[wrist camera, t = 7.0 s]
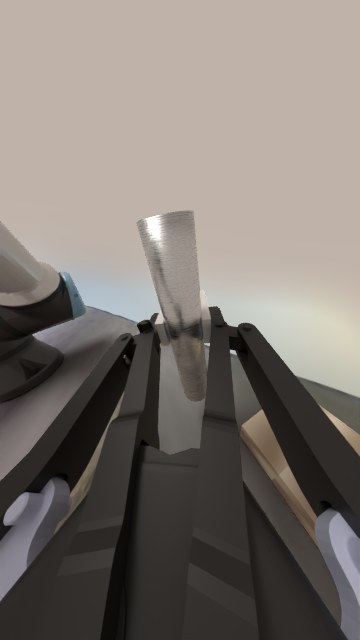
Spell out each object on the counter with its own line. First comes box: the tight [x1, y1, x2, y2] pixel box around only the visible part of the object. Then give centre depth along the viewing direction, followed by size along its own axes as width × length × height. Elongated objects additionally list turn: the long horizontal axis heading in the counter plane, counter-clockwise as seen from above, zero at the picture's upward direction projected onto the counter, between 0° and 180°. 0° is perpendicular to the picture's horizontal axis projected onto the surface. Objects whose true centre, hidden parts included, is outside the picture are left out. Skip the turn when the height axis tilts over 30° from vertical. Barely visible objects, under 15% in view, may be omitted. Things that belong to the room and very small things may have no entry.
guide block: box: [240, 405, 360, 550], centre depth 13 cm, size 14×10×4 cm
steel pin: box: [137, 211, 207, 401], centre depth 13 cm, size 4×4×20 cm
